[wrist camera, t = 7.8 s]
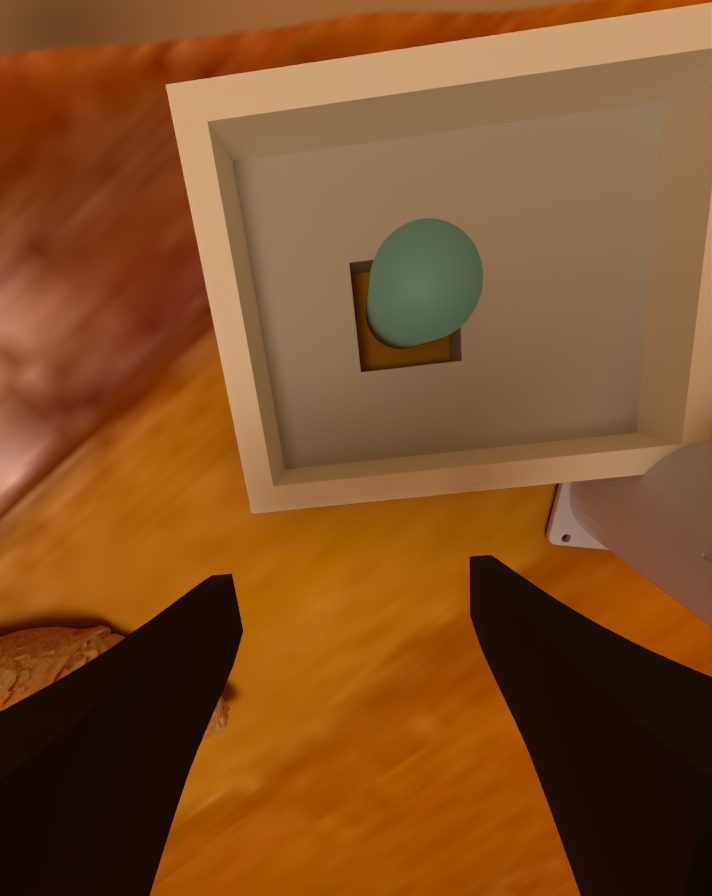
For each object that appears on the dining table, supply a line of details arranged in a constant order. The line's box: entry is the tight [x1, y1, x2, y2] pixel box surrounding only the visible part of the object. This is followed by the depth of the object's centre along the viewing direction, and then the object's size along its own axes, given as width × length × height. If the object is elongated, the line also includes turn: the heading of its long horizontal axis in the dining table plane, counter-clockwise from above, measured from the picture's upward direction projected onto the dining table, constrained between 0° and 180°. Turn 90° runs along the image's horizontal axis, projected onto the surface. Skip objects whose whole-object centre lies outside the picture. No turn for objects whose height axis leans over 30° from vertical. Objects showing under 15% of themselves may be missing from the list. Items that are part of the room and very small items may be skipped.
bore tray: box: [166, 3, 712, 514], centre depth 16 cm, size 20×16×4 cm
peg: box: [366, 218, 483, 349], centre depth 14 cm, size 4×4×7 cm
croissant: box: [0, 626, 230, 740], centre depth 21 cm, size 21×10×8 cm, turn 83°
